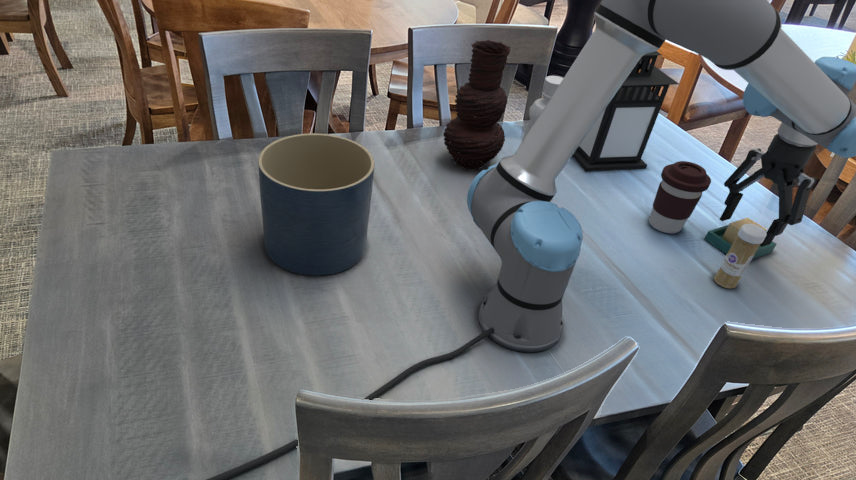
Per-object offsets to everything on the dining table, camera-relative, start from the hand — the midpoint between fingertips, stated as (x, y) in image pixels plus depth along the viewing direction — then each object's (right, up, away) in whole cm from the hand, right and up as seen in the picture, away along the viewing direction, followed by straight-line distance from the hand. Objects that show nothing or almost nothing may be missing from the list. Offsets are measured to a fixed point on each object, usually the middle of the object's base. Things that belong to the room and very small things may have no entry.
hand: (744, 231), depth 139 cm
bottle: (-45, +8, +12) cm, 47 cm away
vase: (-56, +20, +26) cm, 65 cm away
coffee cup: (-14, +2, +8) cm, 16 cm away
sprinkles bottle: (-9, -11, -8) cm, 16 cm away
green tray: (0, -3, +3) cm, 4 cm away
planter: (-94, -3, -5) cm, 94 cm away
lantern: (-19, +24, +33) cm, 45 cm away
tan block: (0, -2, +2) cm, 3 cm away
